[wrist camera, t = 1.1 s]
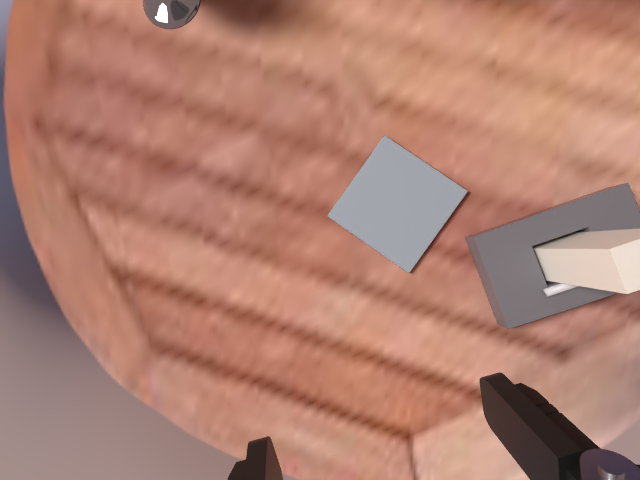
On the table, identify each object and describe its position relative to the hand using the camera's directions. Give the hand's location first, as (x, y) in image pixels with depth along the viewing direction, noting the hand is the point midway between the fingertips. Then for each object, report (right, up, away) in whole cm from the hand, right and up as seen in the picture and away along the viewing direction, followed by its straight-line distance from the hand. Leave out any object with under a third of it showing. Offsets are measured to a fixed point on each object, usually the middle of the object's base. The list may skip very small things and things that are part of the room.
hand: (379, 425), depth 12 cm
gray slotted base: (+23, +5, +24) cm, 34 cm away
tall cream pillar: (+23, +5, +24) cm, 34 cm away
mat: (+6, +11, +26) cm, 29 cm away
